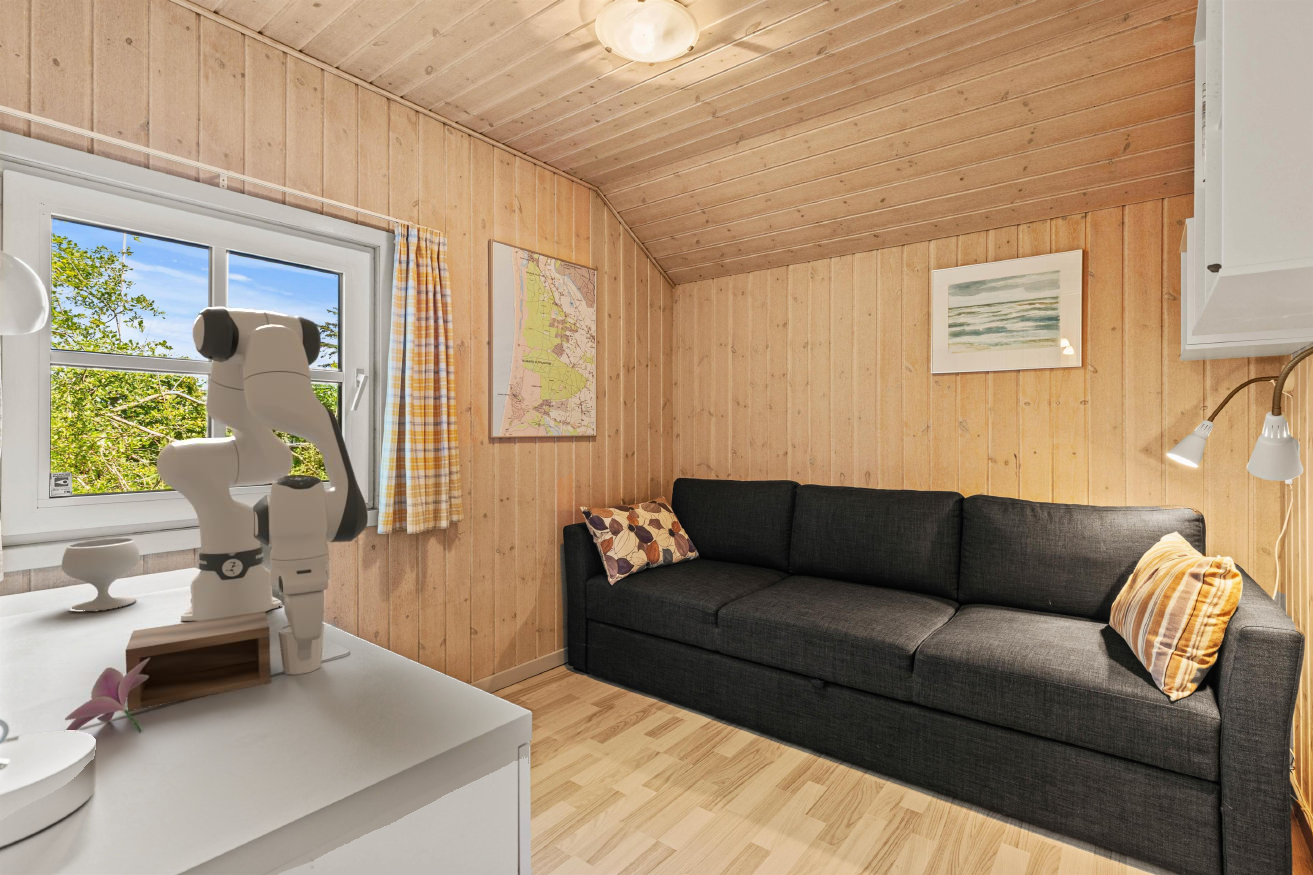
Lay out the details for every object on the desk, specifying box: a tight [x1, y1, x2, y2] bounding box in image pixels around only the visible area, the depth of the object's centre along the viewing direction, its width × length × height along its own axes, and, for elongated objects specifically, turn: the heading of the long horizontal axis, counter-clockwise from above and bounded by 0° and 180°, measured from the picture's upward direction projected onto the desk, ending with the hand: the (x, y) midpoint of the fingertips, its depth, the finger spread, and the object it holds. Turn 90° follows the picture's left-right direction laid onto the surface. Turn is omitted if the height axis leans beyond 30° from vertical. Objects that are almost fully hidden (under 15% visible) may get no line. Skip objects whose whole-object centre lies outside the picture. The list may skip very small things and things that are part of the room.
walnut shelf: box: [125, 611, 272, 712], centre depth 105 cm, size 11×18×9 cm, turn 124°
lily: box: [64, 658, 150, 733], centre depth 89 cm, size 12×12×10 cm
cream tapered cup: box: [277, 623, 325, 675], centre depth 112 cm, size 7×7×7 cm
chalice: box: [61, 537, 141, 612], centre depth 154 cm, size 14×14×15 cm
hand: (302, 653), depth 112 cm, fingers closed on cream tapered cup, 5 cm apart
